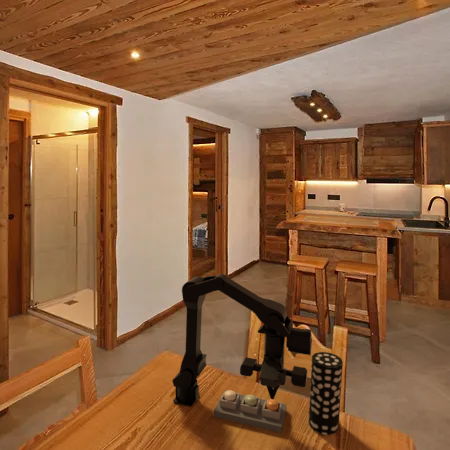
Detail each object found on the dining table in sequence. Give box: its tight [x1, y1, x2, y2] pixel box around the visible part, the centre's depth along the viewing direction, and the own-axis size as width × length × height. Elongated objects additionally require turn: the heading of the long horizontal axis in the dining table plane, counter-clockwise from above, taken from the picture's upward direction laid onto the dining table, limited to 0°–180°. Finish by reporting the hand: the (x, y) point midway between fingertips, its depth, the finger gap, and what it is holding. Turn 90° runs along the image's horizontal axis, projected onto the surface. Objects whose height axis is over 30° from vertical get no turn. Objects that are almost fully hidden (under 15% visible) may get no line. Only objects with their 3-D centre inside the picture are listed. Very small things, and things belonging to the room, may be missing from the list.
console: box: [213, 390, 287, 434], centre depth 103 cm, size 20×10×4 cm, turn 72°
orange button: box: [266, 398, 279, 412], centre depth 101 cm, size 3×3×2 cm
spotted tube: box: [308, 351, 344, 436], centre depth 98 cm, size 8×8×20 cm
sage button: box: [245, 394, 257, 407], centre depth 103 cm, size 3×3×2 cm
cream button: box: [224, 389, 237, 402], centre depth 105 cm, size 3×3×2 cm
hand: (272, 398), depth 101 cm, fingers closed
